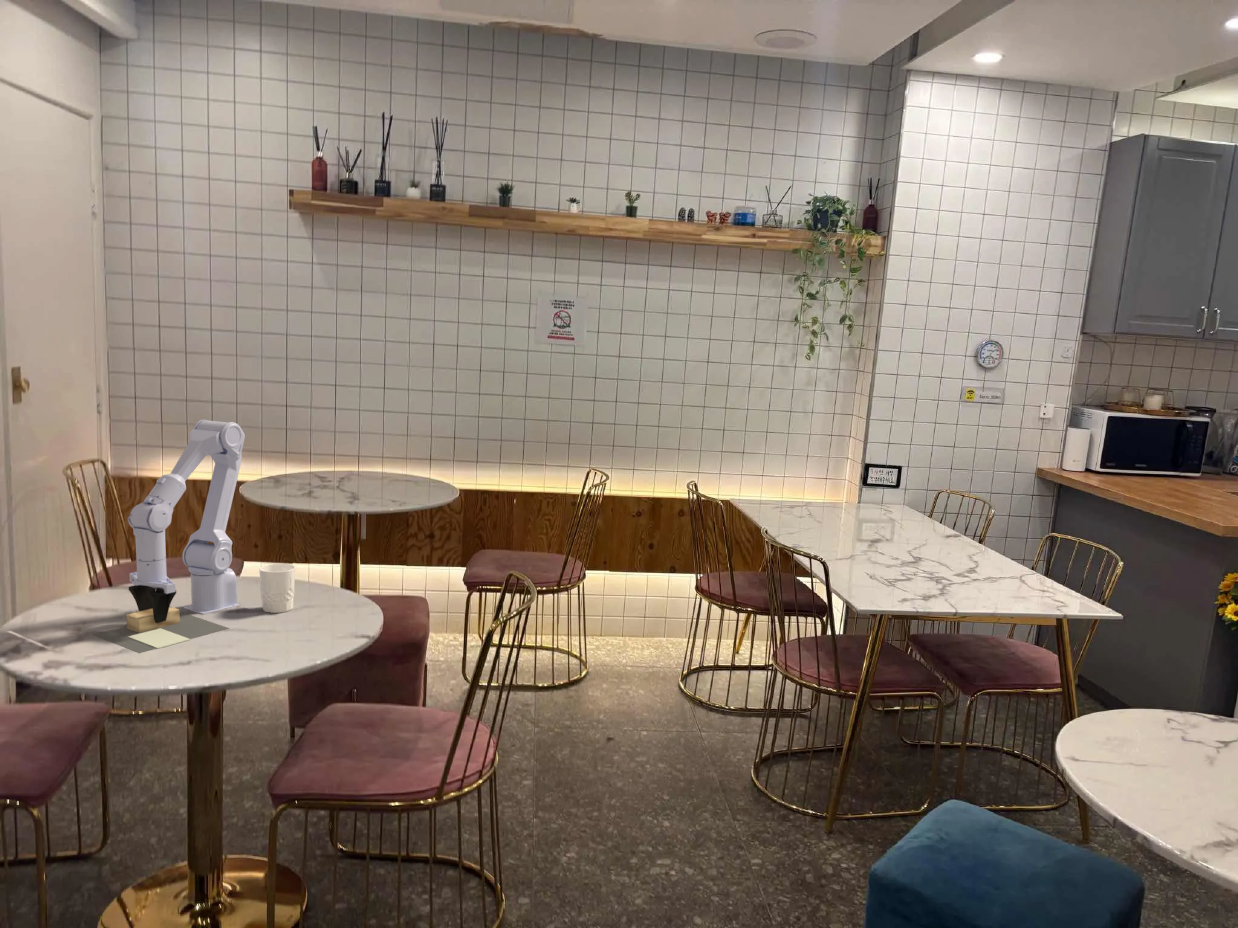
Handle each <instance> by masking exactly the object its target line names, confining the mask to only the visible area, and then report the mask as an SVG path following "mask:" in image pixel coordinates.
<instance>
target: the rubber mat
mask: <svg viewBox="0 0 1238 928" xmlns="http://www.w3.org/2000/svg"><path fill="white" fill-rule="evenodd" d="M179 613H180V623H176V624H172V625H169V626H165V627H161V628H157V629H153V630H149V631H145V632H141V633H139V632H136V631H133V630H131V629H128V628H127V625H124V626H121V627H117V628H116V627H115V628H111V629H109V630H108V629H107V630H103V631H100V632H96V633H92V635H93V636H95V637H98V638H100V639H103V640H105V641H108V642H110V643H112V644H115V645H118V646H120V647H123V648H125V649H128V650H130V651H133V652H136V653H138V654H142V653H146V652H149V651H152V650H157V649H162V648H165V647H169V646H174V645H177V644H181V643H184V642H188V641H190V640H192V639H193V640H194V639H196V638H200V637H203V636H207V635H210V634H215V633H218V632H219V633H220V632H223V631H226V630H230V627H227V626H225V625H221V624H218V623H215V622H212V621H210V620H207V619H203V618H202V617H201V618H200V617H197V616H195V615H192V614H188V613H186V612H179Z"/></svg>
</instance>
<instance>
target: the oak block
mask: <svg viewBox="0 0 1238 928" xmlns="http://www.w3.org/2000/svg"><path fill="white" fill-rule="evenodd" d="M180 613H181V612H180V609H179V608H176V607H172V606H170V607H169V610H168V614H167V618H166V621H164V622H160V623H156V622H155V620H154V615H153V608H152V609H148V610H144V611H140V612H139V611H135V612H132V613H128V614H126V615H125V616H126V618H125V619H126V626H127V628H128V629H131V630H133V631H136V632H139V633H141V632H145V631H149V630H153V629H157V628H161V627H165V626H169V625H172V624H176V623H180Z"/></svg>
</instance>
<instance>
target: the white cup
mask: <svg viewBox="0 0 1238 928" xmlns="http://www.w3.org/2000/svg"><path fill="white" fill-rule="evenodd" d="M258 570H259V584H260V596H261V604H262V610H263V612H266V613H269V612H270V614H279V613H280V614H281V613H286V612H289V611H292V609H294V598H295V583H296V582H295V581H296V566H295V565H293V564H291V563H271V564H266V565H263V566H261V567H259V569H258Z"/></svg>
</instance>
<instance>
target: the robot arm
mask: <svg viewBox="0 0 1238 928" xmlns="http://www.w3.org/2000/svg"><path fill="white" fill-rule="evenodd" d="M188 436H189V442H188V443H187V444H186V447H185V449H184V450H183V452H182V453H181V455H180V457H179V458H178V460H177V462H176V463H175V465H174V466H173V468H172V470H171V472H170V473H167V474H163V475H161V477H158V478H157V479H156V484H155V485H154V486H153V487H152V489H151V490H150V492H149V493H148V494H147V496H146V497H145V498H144V500H143V501H142V502H141V503H139V504H136V505H135V506H134V507H133V508H132V509H131V511H130V514H129V516H128V517H127V522H128V524H129V526H130V527H131V528H132V529H133V530H132V532H133V536H134V537H135V553H136V554H135V555H136V556H135V557H136V558H135V559H136V571H134V572H130V573H129V574H128V576H129V582H130V583H131V584H132V585H131V586H128V591H129V592H130V594H131V595H132V597H133V598H134V601H135V603H136V606H137V609H138V612H140V611H144V610H148V609H152V608H153V615H154V620H155V622H156V623H160V622H164V621H166V618H167V614H168V610H169V607H171V603H172V601H173V599H174V597H175V596H176V594H177V589H176V582H173V581H172V580H171V579H170V578H169V577H168V576H167V555H166V554H167V552H166V551H167V550H166V529H167V528H168V527H169V526H170V525H171V523H172V518H173V517H172V516H173V512H174V510H175V509H174V508H175V507H176V505H177V504H178V502H179V500H180V499H181V498H182V496H183V494H184V493H186V491H187V486H186V485H187V484H186V481H187V480H188V479H189V477H190V476H191V475H192V474H193V472H194V471H195V470H196V468H198V466H200V464H201V462H202V461H203V460H204V459H205V457H207V456H210V458H211V459H212V461H214V467H213V471H212V475H211V476H212V477H211V479H210V484H209V489H208V493H207V498H206V501H205V505H204V510H203V515H202V518H201V521H200V522H201V523H200V527H199V529H197V530H195V532H193V533H192V534H190V536H189V539H188V542H187V544H186V545H185V547H184V548H183V552H182V559H181V560H182V562H183V564H184V565H185V566H186V567H187V569H188V572H190V592H191V604H189V605H185V606H183V609H185V610H189V611H191V612H194V613H197V614H200V615H207V614H211V613H215V612H218V611H223V610H227V609H231V608H235V607H239V606H240V603H238V581H237V576H236V573H235V572H234V570H233V569H232V568H230V566H231V563H232V560H233V553H232V549H233V548H232V546H233V540H231V538H230V537H229V536H228V534H227V533H226V530H227V527H228V526H227V525H228V521H229V518H230V512H231V510H232V509H231V508H232V503H233V499H234V494H235V490H236V487H237V481H238V479H239V478H238V477H239V473H240V469H241V465H242V460H243V459H242V456H243V455H242V451H243V447H244V443H245V438H246V435H245V433H244V431H243V429H242V428H241V426H240V425H239V423H236V422H233V421H230V422H226V421H225V422H224V421H217V420H208V419H200V420H198V421H197V422H196V423H195V424H194V426H193V428H192V430H191V431H189V435H188ZM212 543H213V544H212Z"/></svg>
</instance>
